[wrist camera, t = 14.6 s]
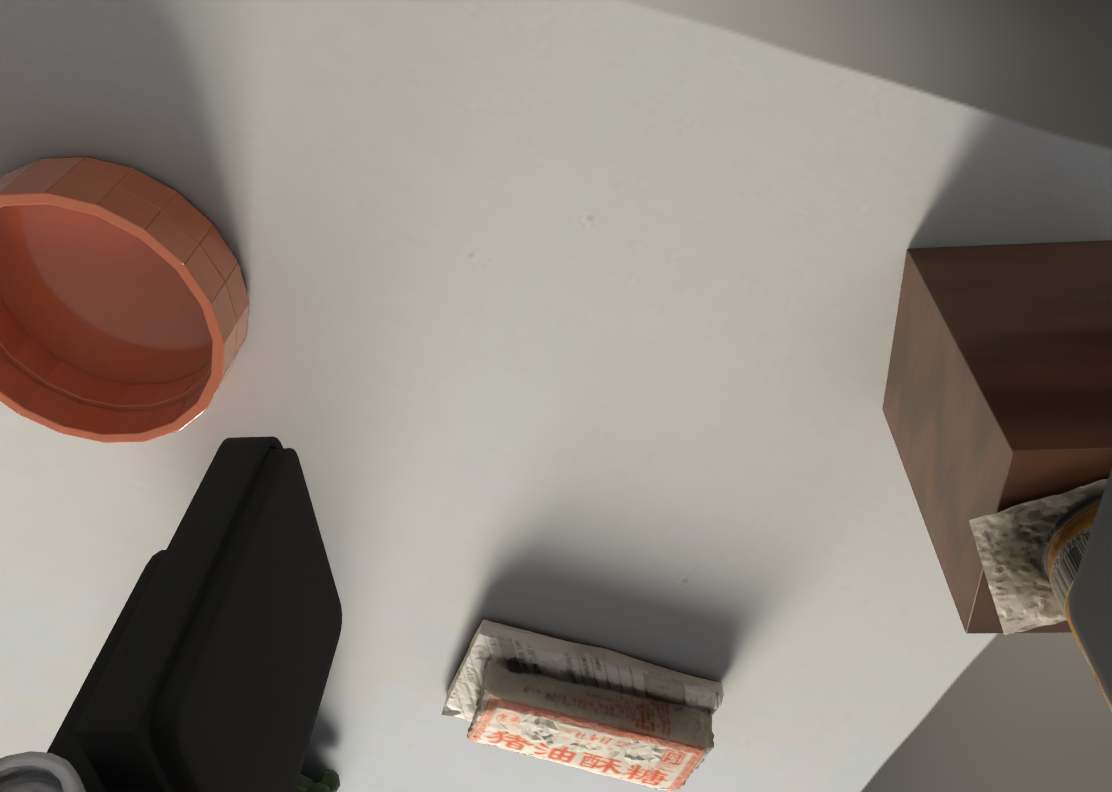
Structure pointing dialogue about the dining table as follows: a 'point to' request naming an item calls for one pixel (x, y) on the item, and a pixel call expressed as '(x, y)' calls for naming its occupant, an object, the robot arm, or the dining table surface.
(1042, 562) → the condiment
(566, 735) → the packaged product
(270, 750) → the robot arm
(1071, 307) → the stand
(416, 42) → the dining table surface
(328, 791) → the toy figurine
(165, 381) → the dish
